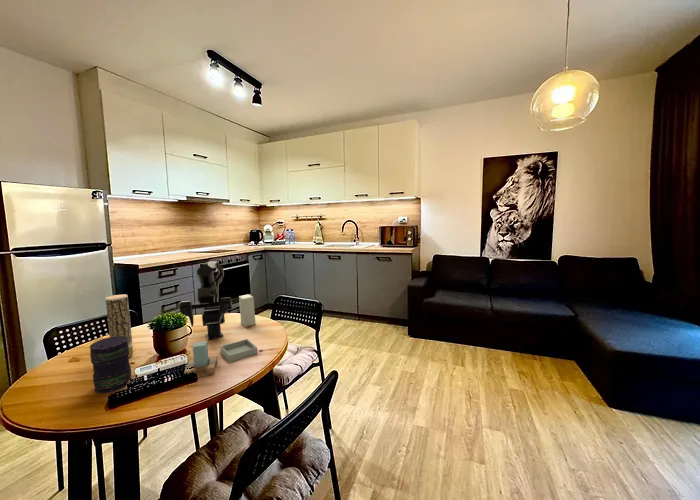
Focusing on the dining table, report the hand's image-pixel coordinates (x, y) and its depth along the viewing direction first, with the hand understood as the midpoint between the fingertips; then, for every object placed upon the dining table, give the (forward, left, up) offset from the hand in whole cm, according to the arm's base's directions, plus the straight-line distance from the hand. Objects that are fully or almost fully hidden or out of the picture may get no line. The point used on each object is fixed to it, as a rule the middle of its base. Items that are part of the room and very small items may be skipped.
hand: (205, 324), depth 112 cm
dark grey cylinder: (-2, -29, -15) cm, 32 cm away
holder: (+7, -4, -14) cm, 16 cm away
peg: (+7, -4, -14) cm, 16 cm away
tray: (+2, +11, -14) cm, 18 cm away
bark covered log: (-25, -26, -15) cm, 39 cm away
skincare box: (-29, +26, -15) cm, 42 cm away
